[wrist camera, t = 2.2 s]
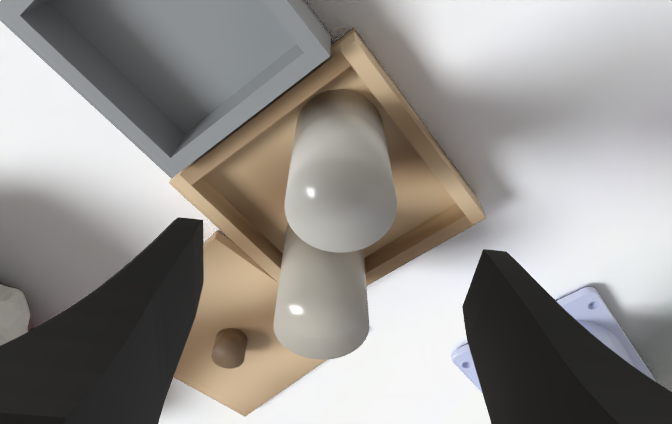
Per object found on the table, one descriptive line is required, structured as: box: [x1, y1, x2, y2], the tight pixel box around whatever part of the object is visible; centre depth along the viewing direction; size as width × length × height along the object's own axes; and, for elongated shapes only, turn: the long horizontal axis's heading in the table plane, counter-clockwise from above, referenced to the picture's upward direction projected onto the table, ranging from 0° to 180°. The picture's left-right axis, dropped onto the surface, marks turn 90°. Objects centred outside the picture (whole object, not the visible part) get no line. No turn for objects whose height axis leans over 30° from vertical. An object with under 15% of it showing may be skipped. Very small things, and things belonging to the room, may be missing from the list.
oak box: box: [169, 28, 486, 286], centre depth 22 cm, size 9×9×2 cm
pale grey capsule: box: [285, 89, 397, 253], centre depth 18 cm, size 3×3×6 cm
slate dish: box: [0, 0, 331, 178], centre depth 17 cm, size 7×7×2 cm
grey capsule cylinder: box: [274, 223, 369, 360], centre depth 21 cm, size 3×3×6 cm
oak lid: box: [173, 231, 327, 416], centre depth 26 cm, size 9×9×2 cm
